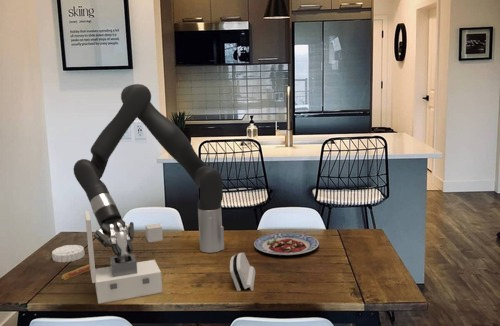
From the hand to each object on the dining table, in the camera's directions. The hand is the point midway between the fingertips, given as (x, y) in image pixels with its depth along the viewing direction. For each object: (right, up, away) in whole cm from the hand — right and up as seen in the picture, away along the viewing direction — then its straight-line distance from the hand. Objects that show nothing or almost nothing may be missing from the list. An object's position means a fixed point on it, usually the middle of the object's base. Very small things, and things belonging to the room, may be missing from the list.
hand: (125, 253), depth 161 cm
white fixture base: (0, -13, +4) cm, 14 cm away
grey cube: (-1, -4, +56) cm, 56 cm away
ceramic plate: (+55, -5, +41) cm, 68 cm away
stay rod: (-1, -5, +2) cm, 5 cm away
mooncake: (-32, -9, +38) cm, 50 cm away
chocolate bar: (-22, -11, +21) cm, 32 cm away
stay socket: (-1, -6, +3) cm, 7 cm away
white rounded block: (+38, -11, +9) cm, 40 cm away
